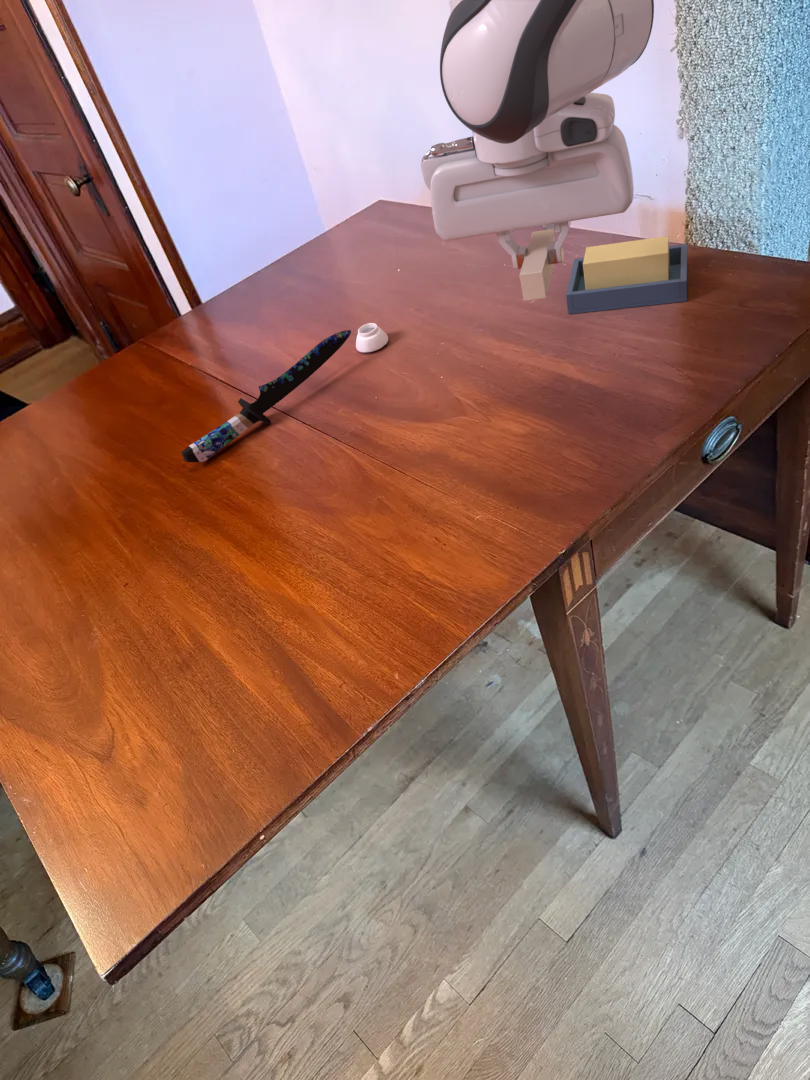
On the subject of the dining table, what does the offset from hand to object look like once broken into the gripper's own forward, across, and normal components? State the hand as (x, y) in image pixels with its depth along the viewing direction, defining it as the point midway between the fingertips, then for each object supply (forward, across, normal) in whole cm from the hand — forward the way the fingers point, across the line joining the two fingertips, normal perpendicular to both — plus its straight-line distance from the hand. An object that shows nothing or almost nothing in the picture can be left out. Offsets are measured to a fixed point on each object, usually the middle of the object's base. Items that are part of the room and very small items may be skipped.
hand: (539, 263), depth 81 cm
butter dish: (+17, +7, +25) cm, 31 cm away
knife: (+16, -39, +2) cm, 43 cm away
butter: (+15, +7, +25) cm, 30 cm away
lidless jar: (+17, -30, +17) cm, 38 cm away
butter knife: (+2, 0, +6) cm, 6 cm away
